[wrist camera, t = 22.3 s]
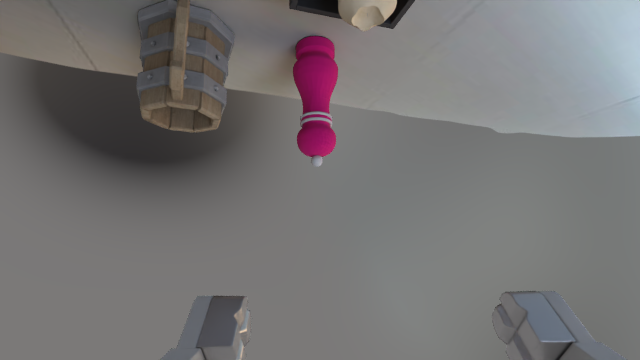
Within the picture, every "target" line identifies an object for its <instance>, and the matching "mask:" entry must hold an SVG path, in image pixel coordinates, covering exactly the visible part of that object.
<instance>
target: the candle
mask: <svg viewBox="0 0 640 360" xmlns="http://www.w3.org/2000/svg"><path fill="white" fill-rule="evenodd" d="M396 5H397V0H338V10H339V14H340V16H341V18H342V19H343V20H344V21H345V22H347V23H348V24H350V25H352V26H354V27H356V28H358V29H360V30H361V31H367V30H369V29H370V28H371V27H374V26H376V25H380V24H382V23H383V22H384V21H385V20H386V19H387V18H388V17H389V16H390V15H391V14H392V13H393V12H394V10H395V8H396Z"/></svg>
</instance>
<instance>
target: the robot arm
mask: <svg viewBox="0 0 640 360" xmlns="http://www.w3.org/2000/svg"><path fill="white" fill-rule="evenodd" d="M500 301H501V304H500V305H498V306H497V307H495V309H494V311H493V314H492V321H493V326H494V329H495V331H496V333H497V335H498V337H499V338H500V339H501V340H502V341H503V342H504V343H506V344H507V348H506V353H507V356H508V358H509V359H510V360H627V359H625V358H624V357H622V356H621V355H619V354H618V353H616V352H615V351H613V350H612V349H611V348H609V347H608V346H606V345H605V344H603V343H601V342H596V341H595V340H594V339H593V337H592V336H591V335H590V333H589V332H588V331H587V330H586V329H585V327H584V326H583V325H582V323H581V322H580V320H579V319H578V318H577V316H576V315H575V314H574V313H573V311H572V310H571V309H570V307H569V306H568V305H567V303H566V302H565V301H564V300H563V298H562V297H561V296H560V295H559V294H558V293H557V292H555V291H538V292H537V291H520V292H519V291H518V292H505V293H503V294H502V295H501V297H500ZM247 306H248V300H247V296H197V298H196V299H195V300H194V302H193V305H192V308H191V310H190V313H189V316H188V318H187V321H186V324H185V326H184V329H183V332H182V334H181V337H180V340H179V342H178V345H177V348H174V349H173V348H171V349H170V350H169V351H168V352H167V353H166V354H165V355H164V356H163V357H162V358H161V359H160V360H246V352H245V348H244V347H245V345H246V344H247V343H248V342H249V339H250V333H251V313H250V310H248V309H247Z"/></svg>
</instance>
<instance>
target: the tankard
mask: <svg viewBox="0 0 640 360" xmlns="http://www.w3.org/2000/svg"><path fill="white" fill-rule="evenodd" d="M138 23H139V29H140V34H141V40H142V42H141V51H140V59H141V61H142V67H143V72H141V73H138V78H137V87H136V89H137V92H138V96H139V100H140V110H141V113H142V117H143V119H144V120H146V121H148V122H151V123H153V124H155V125H158V126H160V127H163V128H168V129H169V130H178V131H185V132H202V131H209V130H215V129H217V128H218V126H219V123H220V120H221V115H222V113H223V110H224V108H225V105H226V103H227V102H226V95H227V89H226V88H224V87H223V86H224V83H225V80H226V76H228V61H229V58H230V55H231V51H232V48H233V44H234V34H233V33H232V32H231V31H230V30H229V29H228V28H227V27H226V26H225V25H224V24H223V23H222V22H221V21H220V20H219V19H218V18H217V17H216V16H215V14H214V13H213V12H212V11H210V10H206V9H203V8H199V7H196V6H192V5H190V0H178V1H174V0H166V1H163V2H160V3H157V4H155V5H152V6H149V7H147V8H144V9H141V10H139V13H138Z"/></svg>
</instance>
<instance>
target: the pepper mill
mask: <svg viewBox="0 0 640 360" xmlns="http://www.w3.org/2000/svg"><path fill="white" fill-rule="evenodd" d="M296 58H297V61H296V63H295V64H294V67H293V76H294V80H295V84H296V86H297V88H298V91H299V93H300V95H301V98H302V102H303V115H302V116H301V117H300V120H301V123H300V125H301V127H302V129H301V130H300V131H299V133H298V135H297V144H298V147H299V149H300V150H301V152H303V153H304V154H305V155H307V156H310V157H312V158H311V163H312V165H314V166H320V165H321V164H322V161H323V160H322V157H323V156H326V155H328V154H330V153H331V152H332V150H333V149H334V147H335V144H336V135H335V133H334V131H333V130H332V129H331V128H330V127H331V126H332V116H331V115H330V114H329V102H330V97H331V94H332V92H333V89H334V87H335V85H336V81H337V77H338V67H337V64H336V63H335V61H334V60H333V59H334V45H333V43H332V42H331V41H330V40H329V39H327V38H324V37H321V36H310V37H306V38H304V39H302V40H301V41H299V42H298V44H297V46H296Z"/></svg>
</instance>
